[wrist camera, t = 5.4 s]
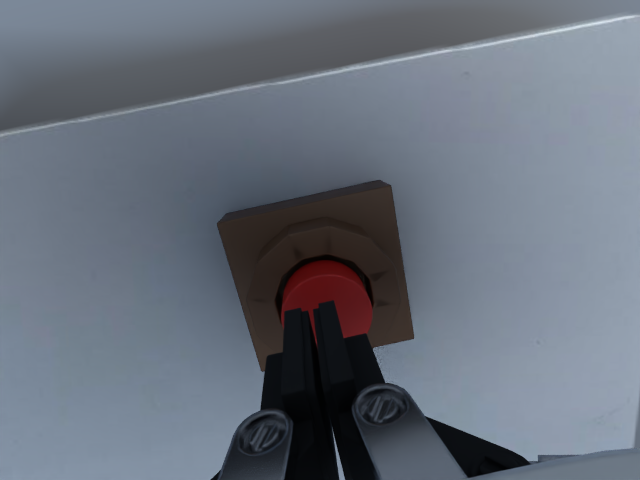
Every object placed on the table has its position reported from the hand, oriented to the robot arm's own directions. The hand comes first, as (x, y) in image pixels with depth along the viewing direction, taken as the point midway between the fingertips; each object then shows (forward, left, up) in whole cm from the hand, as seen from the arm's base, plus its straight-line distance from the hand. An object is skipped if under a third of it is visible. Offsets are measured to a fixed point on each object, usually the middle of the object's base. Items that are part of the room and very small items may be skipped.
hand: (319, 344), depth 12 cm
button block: (0, 0, -8) cm, 8 cm away
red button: (0, 0, -4) cm, 4 cm away
